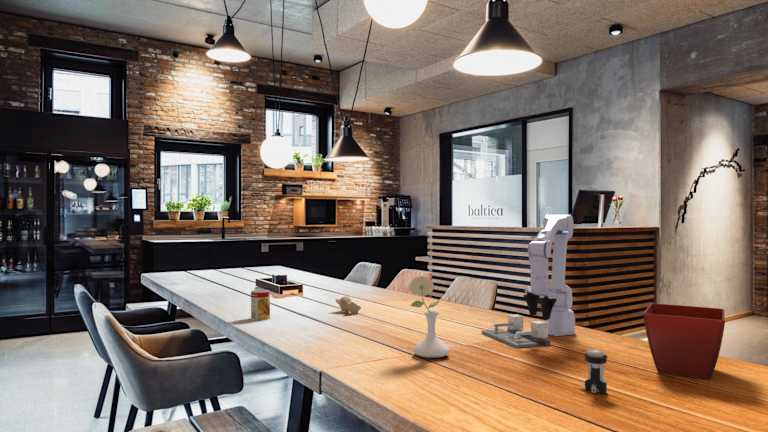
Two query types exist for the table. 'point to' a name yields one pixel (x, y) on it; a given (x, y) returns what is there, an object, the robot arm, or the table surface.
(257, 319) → the canned food
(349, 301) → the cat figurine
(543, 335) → the sliding divider leg
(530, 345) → the bolt hole plate
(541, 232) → the robot arm
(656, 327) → the plant pot
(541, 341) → the bar
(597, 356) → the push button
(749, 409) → the table surface
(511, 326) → the fixed divider leg
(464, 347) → the table surface
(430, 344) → the flower in vase
